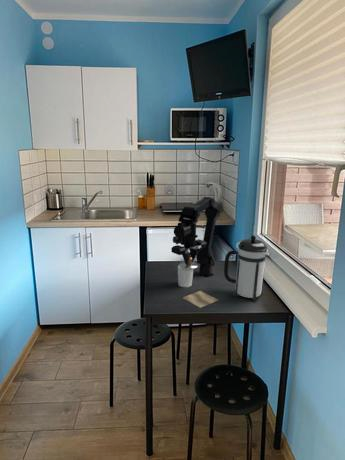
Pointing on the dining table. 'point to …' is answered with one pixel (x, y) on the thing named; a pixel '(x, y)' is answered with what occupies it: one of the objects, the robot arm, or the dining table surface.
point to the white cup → (185, 277)
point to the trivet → (200, 299)
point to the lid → (189, 264)
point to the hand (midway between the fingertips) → (188, 263)
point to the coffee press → (248, 267)
